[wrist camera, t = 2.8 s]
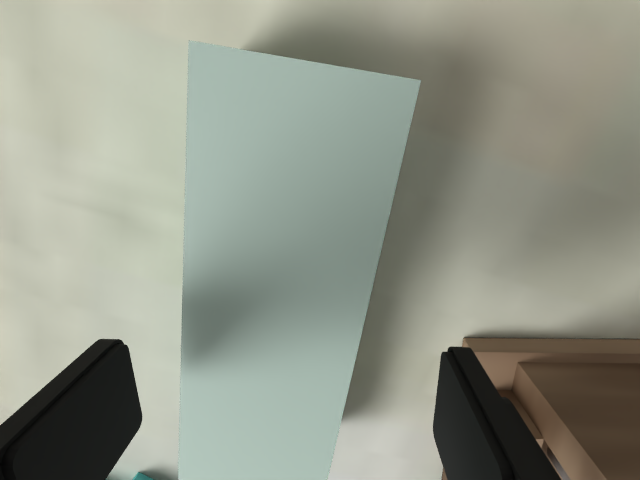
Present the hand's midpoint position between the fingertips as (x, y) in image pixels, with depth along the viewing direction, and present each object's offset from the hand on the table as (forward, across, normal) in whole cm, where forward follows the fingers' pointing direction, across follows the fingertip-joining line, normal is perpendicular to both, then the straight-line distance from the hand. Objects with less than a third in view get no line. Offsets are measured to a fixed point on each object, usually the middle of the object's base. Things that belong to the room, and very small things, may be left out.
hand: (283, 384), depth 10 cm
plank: (+6, +1, -1) cm, 6 cm away
